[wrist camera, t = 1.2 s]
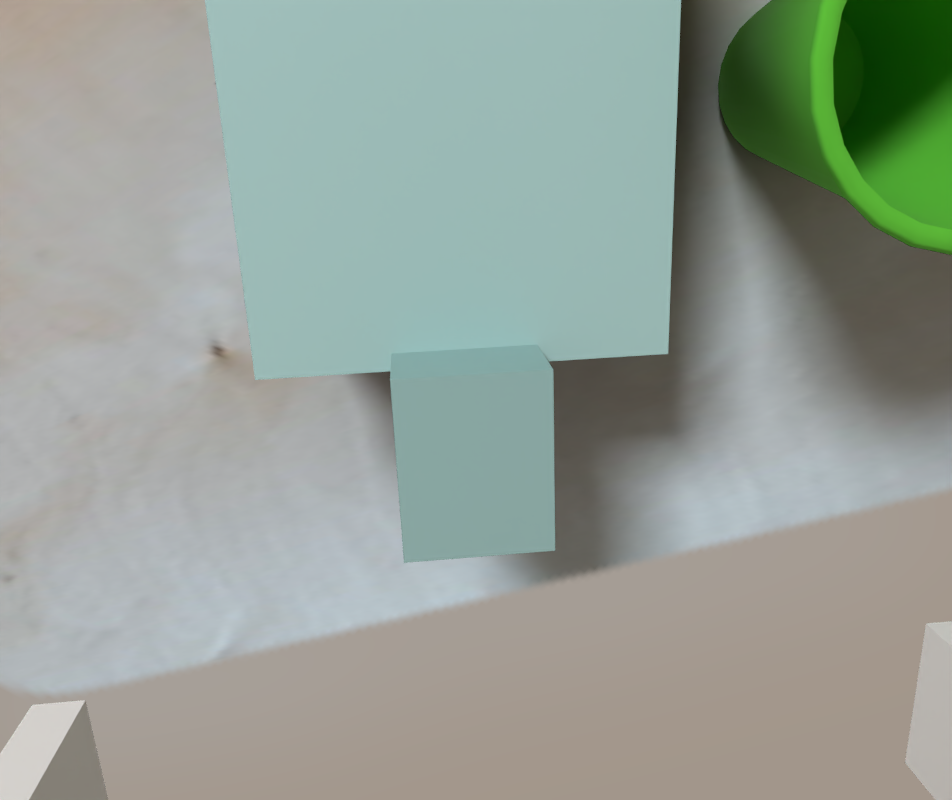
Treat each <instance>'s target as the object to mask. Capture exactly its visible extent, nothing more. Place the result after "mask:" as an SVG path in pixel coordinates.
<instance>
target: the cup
mask: <svg viewBox="0 0 952 800" xmlns="http://www.w3.org/2000/svg"><path fill="white" fill-rule="evenodd" d="M718 91H719V105H720V108H721V112H722V115H723V118H724V122H725V124H726V125H727V127H728V129H729V130H730V132H731V134H732V135H733V137H734V138H735V139H736V140H737V141H738V142H739V143H740V144H741V145H742V146H743V147H744V148H745V149H746V150H748V151H750V152H752V153H754V154H756V155H757V156H759V157H761V158H763V159H765V160H767V161H769V162H771V163H773V164H776V165H778V166H780V167H782V168H784V169H786V170H788V171H790V172H792V173H794V174H796V175H798V176H800V177H802V178H804V179H806V180H808V181H810V182H812V183H814V184H817V185H819V186H821V187H823V188H825V189H827V190H829V191H831V192H833V193H835V194H837V195H839V196H841V197H843V198H845V199H846V200H847V201H848V202H849V203H850V204H851V205H852V206H853V207H854V208H855V209H856V210H857V211H858V212H859V213H860V214H861V215H862V216H863V217H864V218H865V219H866V220H867V221H868V222H869V223H870V224H871V225H872V226H873V227H875V228H877V229H879V230H881V231H883V232H884V233H886V234H888V235H890V236H892V237H894V238H896V239H897V240H899V241H901V242H903V243H905V244H907V245H909V246H911V247H916V248H921V249H926V250H930V251H935V252H940V253H945V254H949V255H952V0H771V1H770V2H769V3H768V4H767V5H765V6H764V7H763V8H762V9H760V10H759V11H758V12H757V13H756V14H754V15H753V16H752V17H751V18H750V19H749V20H748V21H747V22H746V23H745V24H744V25H743V26H742V27H741V28H740V29H739V31H738V32H737V34H736V35H735V37H734V39H733V40H732V42H731V43H730V45H729V46H728V49H727V52H726V54H725V57H724V59H723V62H722V64H721V70H720V76H719V83H718Z"/></svg>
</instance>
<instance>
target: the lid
mask: <svg viewBox="0 0 952 800" xmlns="http://www.w3.org/2000/svg"><path fill="white" fill-rule="evenodd" d="M205 4H206V12H207V19H208V27H209V35H210V42H211V50H212V57H213V65H214V72H215V80H216V87H217V95H218V102H219V110H220V118H221V125H222V133H223V140H224V148H225V155H226V163H227V170H228V178H229V185H230V193H231V200H232V208H233V216H234V223H235V231H236V238H237V246H238V253H239V261H240V268H241V276H242V283H243V291H244V299H245V306H246V314H247V321H248V329H249V336H250V344H251V351H252V359H253V366H254V374H255V380H260V379H276V378H292V377H308V376H324V375H340V374H356V373H372V372H388V371H390V387H391V400H392V413H393V426H394V439H395V452H396V465H397V478H398V491H399V504H400V517H401V529H402V542H403V555H404V563H407V562H419V561H432V560H444V559H457V558H469V557H482V556H494V555H507V554H520V553H532V552H545V551H555V481H554V381H553V368H552V367H551V365H550V364H549V362H548V361H563V360H579V359H595V358H611V357H627V356H643V355H659V354H668V344H669V317H670V289H671V262H672V235H673V208H674V180H675V153H676V126H677V99H678V71H679V44H680V17H681V0H205Z"/></svg>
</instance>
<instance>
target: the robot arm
mask: <svg viewBox="0 0 952 800" xmlns="http://www.w3.org/2000/svg"><path fill="white" fill-rule="evenodd" d="M905 763H906V764H907V766H908V767H909V768H910V769H911V770H912V772H913V773H914V774H915V776H916V777H917V778H918V779H919V780H920V782H921V783H922V784H923V785H924V787H925V788H926V789H927V790H928V792H929V793H930V794H931V795H932V796H933V798H934V799H935V800H952V621H949V622H939V623H927V624H926V628H925V634H924V641H923V648H922V654H921V661H920V667H919V674H918V680H917V687H916V693H915V700H914V707H913V713H912V720H911V727H910V733H909V739H908V746H907V752H906V759H905ZM0 800H108V797H107V793H106V788H105V784H104V779H103V775H102V771H101V766H100V762H99V757H98V753H97V749H96V744H95V740H94V736H93V731H92V727H91V722H90V719H89V714H88V709H87V705H86V701H85V700H82V701H71V702H60V703H50V704H39V705H32V707H31V708H30V709H29V711H28V712H27V714H26V716H25V717H24V718H23V720H22V721H21V723H20V724H19V726H18V727H17V729H16V731H15V732H14V734H13V735H12V737H11V738H10V740H9V741H8V743H7V744H6V746H5V748H4V749H3V750H2V752H1V754H0Z"/></svg>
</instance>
